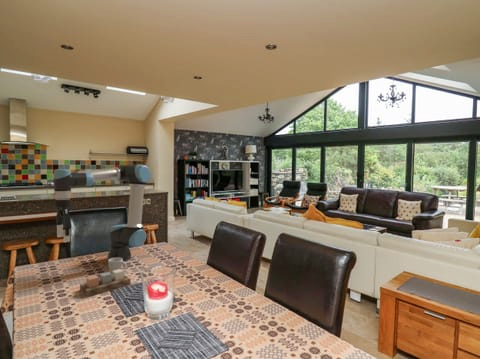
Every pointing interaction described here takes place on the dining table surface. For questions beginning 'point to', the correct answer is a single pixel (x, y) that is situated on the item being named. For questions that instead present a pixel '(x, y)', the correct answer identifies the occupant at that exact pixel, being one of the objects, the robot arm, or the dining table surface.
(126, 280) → the key block
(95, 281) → the terracotta key
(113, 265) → the cup
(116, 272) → the cream key
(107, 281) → the slate key
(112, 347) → the dining table surface
